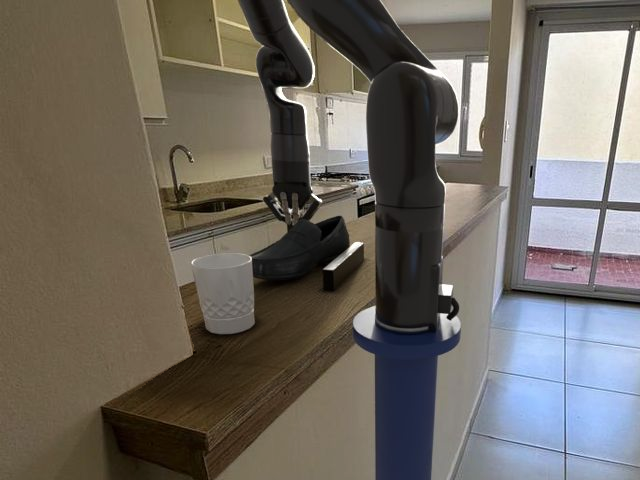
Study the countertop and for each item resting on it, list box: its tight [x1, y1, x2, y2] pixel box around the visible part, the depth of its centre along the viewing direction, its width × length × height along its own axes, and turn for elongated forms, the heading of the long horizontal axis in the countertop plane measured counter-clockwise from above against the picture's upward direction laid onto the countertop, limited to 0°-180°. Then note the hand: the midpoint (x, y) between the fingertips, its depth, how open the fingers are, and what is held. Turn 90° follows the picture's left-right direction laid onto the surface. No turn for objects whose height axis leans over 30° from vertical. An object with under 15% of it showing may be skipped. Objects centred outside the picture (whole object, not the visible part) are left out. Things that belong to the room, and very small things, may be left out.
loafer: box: [247, 215, 351, 281], centre depth 91 cm, size 10×29×10 cm, turn 160°
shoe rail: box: [322, 241, 365, 292], centre depth 91 cm, size 2×22×4 cm, turn 172°
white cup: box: [190, 252, 256, 335], centre depth 64 cm, size 8×8×10 cm
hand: (295, 241), depth 98 cm, fingers closed
